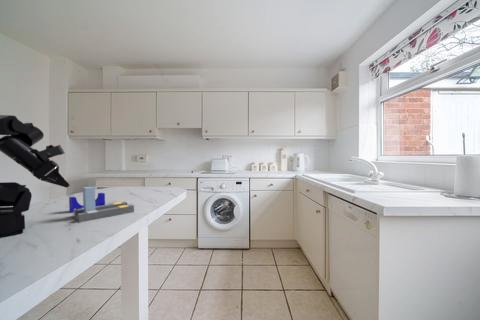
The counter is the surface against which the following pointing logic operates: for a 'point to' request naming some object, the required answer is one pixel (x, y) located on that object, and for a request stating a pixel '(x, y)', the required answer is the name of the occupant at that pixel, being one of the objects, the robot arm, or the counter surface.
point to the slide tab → (89, 198)
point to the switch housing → (103, 211)
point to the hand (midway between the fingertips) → (66, 185)
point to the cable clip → (75, 204)
